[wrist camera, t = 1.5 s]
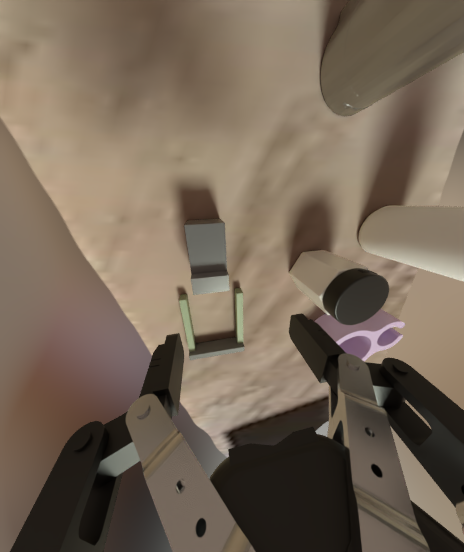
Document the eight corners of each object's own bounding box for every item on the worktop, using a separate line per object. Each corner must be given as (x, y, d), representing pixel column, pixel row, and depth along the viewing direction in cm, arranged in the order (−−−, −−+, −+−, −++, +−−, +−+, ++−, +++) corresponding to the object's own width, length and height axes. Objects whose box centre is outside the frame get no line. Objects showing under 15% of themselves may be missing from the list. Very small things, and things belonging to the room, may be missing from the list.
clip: (375, 292, 39) (408, 309, 33) (373, 327, 45) (400, 348, 38) (297, 324, 39) (316, 347, 33) (305, 356, 45) (322, 381, 38)
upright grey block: (187, 220, 25) (182, 227, 19) (219, 218, 26) (226, 224, 19) (195, 273, 29) (193, 294, 22) (222, 270, 30) (229, 290, 23)
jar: (333, 274, 34) (393, 307, 24) (300, 295, 35) (343, 336, 24) (320, 239, 31) (386, 259, 20) (283, 263, 31) (326, 296, 21)
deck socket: (180, 294, 30) (178, 303, 28) (240, 287, 32) (244, 295, 29) (190, 348, 36) (190, 360, 33) (241, 340, 38) (244, 350, 35)
